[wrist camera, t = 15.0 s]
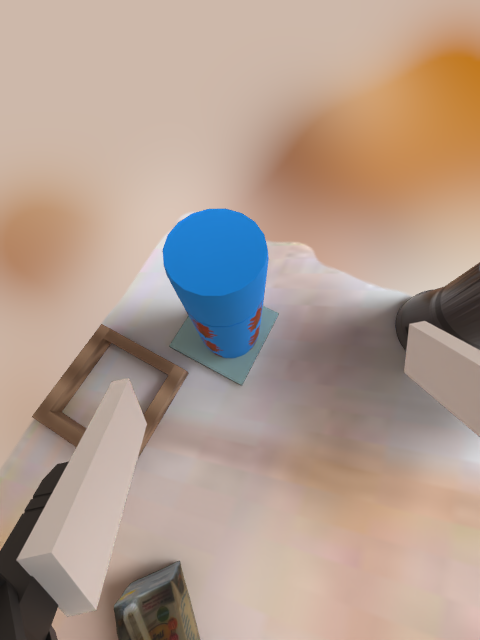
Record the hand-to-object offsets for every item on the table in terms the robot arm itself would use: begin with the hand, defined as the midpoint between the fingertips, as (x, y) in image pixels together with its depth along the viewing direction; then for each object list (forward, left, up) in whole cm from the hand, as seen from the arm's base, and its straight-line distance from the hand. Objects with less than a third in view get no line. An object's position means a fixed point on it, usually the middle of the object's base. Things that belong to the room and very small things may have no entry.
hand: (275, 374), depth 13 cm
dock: (+9, -23, -36) cm, 43 cm away
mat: (-10, -12, -36) cm, 39 cm away
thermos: (-10, -10, -35) cm, 38 cm away
